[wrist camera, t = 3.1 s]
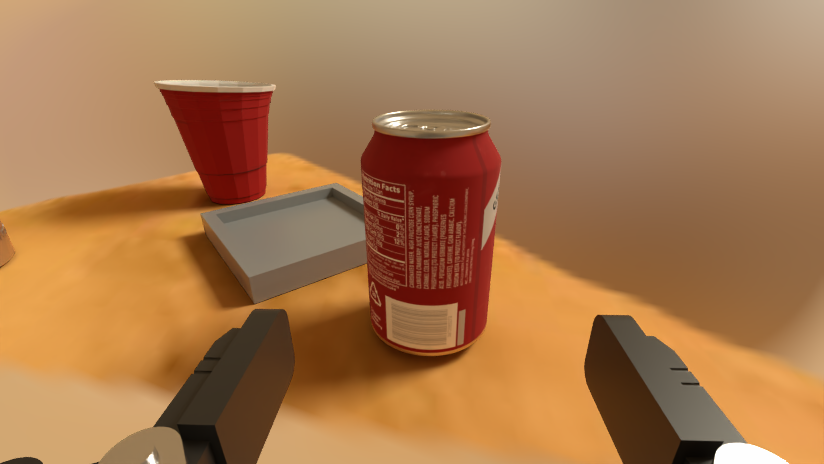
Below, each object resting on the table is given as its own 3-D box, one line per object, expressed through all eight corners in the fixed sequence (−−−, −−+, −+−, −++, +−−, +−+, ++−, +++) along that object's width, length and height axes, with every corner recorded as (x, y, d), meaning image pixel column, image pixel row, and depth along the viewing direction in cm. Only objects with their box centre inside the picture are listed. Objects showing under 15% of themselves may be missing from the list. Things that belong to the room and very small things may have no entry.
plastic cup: (310, 193, 44) (295, 78, 39) (210, 223, 37) (176, 87, 32) (262, 173, 51) (245, 72, 46) (170, 195, 44) (137, 79, 39)
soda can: (466, 382, 20) (484, 140, 15) (349, 345, 22) (328, 126, 17) (496, 306, 25) (517, 112, 20) (400, 284, 28) (396, 105, 23)
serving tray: (254, 303, 26) (248, 277, 25) (205, 234, 35) (200, 213, 34) (413, 245, 33) (413, 223, 32) (338, 200, 42) (336, 182, 41)
